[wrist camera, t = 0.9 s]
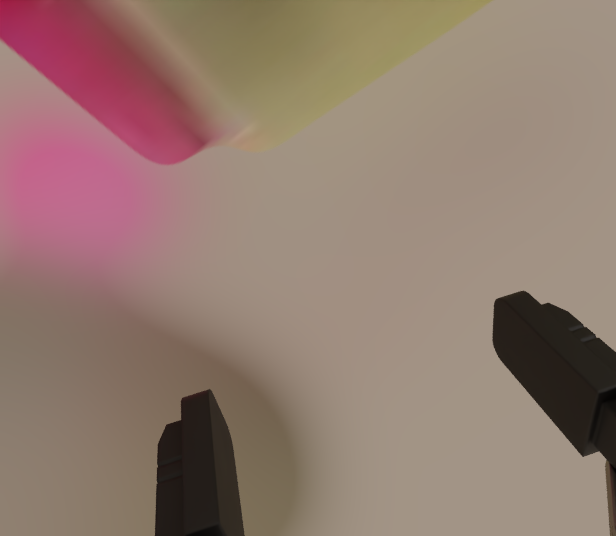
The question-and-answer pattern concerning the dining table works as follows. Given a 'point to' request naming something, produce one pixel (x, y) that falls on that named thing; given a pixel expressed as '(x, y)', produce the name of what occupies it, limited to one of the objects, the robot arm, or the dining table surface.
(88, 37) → the dining table surface
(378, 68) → the dining table surface
